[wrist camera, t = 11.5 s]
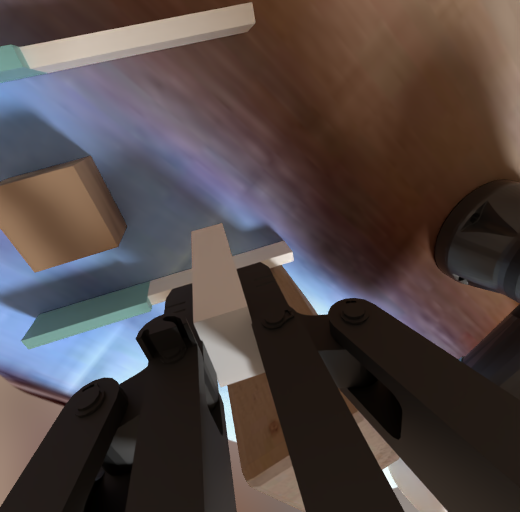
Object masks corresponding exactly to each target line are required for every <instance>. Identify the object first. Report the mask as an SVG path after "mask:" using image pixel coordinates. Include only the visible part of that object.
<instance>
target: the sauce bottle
mask: <svg viewBox="0 0 520 512" xmlns="http://www.w3.org/2000/svg"><path fill="white" fill-rule="evenodd" d="M388 468H389V471H390V473H391V475H392V477H393V479H394V481H395V483H396V484H397V486H398V487H399V489H400V490H401V492H403V494H404V496H405V497H406V498H407V499H408V500H409V501H410V503H411V504H412V505H413V506H414V507H415V508H416V509H417V510H418V511H420V512H447V510H446V509H445V508H444V507H443V506H442V504H441V503H440V502H439V501H438V500H437V499H436V498H435V497H434V495H433V494H432V493H431V492H430V491H429V490H428V489H427V488H426V486H425V485H424V484H423V483H422V482H421V481H420V480H419V479H418V477H417V476H416V475H415V474H414V473H413V472H412V471H411V469H410V468H409V467H408V466H407V465H406V464H405V463H404V462H403V460H402V459H401V458H399V459H398V460H397V461H395V462H394V463H392V464H390V465H389V466H388Z"/></svg>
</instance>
